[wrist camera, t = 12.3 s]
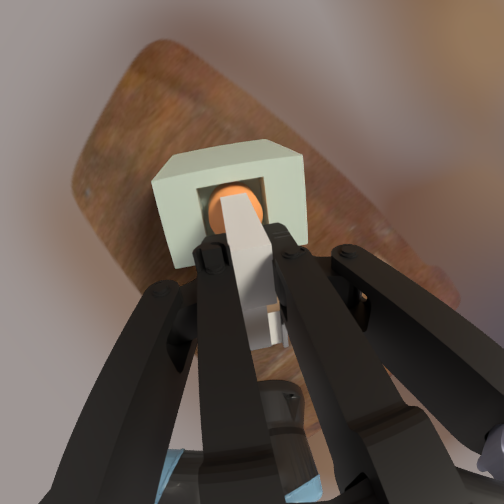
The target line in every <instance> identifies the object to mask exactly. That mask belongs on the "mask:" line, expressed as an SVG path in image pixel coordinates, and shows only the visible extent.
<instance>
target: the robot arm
mask: <svg viewBox="0 0 504 504" xmlns="http://www.w3.org/2000/svg"><path fill="white" fill-rule="evenodd" d="M220 200H221V206H222V212H223V218H224V224H225V230H226V233H221V234H216V235H211V236H206V237H205V238H204V239H203V241H202V242H201V244H200V245H198V246H197V247H196V248H195V249H194V250H193V252H192V254H193V258H194V262H195V265H196V269H197V278H196V279H195V280H193V281H192V282H190V283H188V284H185V285H183V286H180V287H179V285H178V283H177V282H175V281H173V280H161V281H158V282H156V283H154V284H152V285H151V286H149V287H148V288H147V290H146V291H145V292H144V294H143V296H142V297H141V299H140V301H139V302H138V304H137V306H136V308H135V310H134V311H133V313H132V315H131V316H130V318H129V320H128V322H127V323H126V325H125V327H124V329H123V331H122V332H121V335H120V336H119V338H118V340H117V341H116V343H115V345H114V347H113V349H112V351H111V353H110V355H109V357H108V359H107V360H106V362H105V364H104V366H103V368H102V370H101V372H100V374H99V376H98V378H97V380H96V382H95V384H94V386H93V388H92V390H91V392H90V394H89V397H88V399H87V401H86V403H85V405H84V407H83V409H82V412H81V414H80V416H79V418H78V421H77V423H76V425H75V428H74V430H73V432H72V434H71V437H70V439H69V442H68V444H67V447H66V449H65V451H64V454H63V457H62V459H61V462H60V464H59V467H58V470H57V472H56V475H55V478H54V481H53V484H52V487H51V489H50V490H49V492H48V493H47V494H46V495H45V496H44V498H43V499H42V500H41V501H40V502H39V504H504V349H503V348H502V347H501V346H499V345H498V344H497V343H496V342H495V341H493V340H492V339H491V338H490V337H488V336H487V335H486V334H484V333H483V332H482V331H481V330H479V329H478V328H477V327H476V326H474V325H473V324H472V323H470V322H469V321H468V320H467V319H465V318H464V317H463V316H461V315H460V314H459V313H457V312H456V311H454V310H453V309H452V308H450V307H449V306H448V305H446V304H445V303H444V302H442V301H441V300H439V299H438V298H437V297H435V296H434V295H432V294H431V293H429V292H428V291H427V290H425V289H424V288H422V287H421V286H419V285H418V284H416V283H415V282H414V281H412V280H411V279H409V278H408V277H406V276H405V275H403V274H402V273H400V272H399V271H397V270H396V269H394V268H393V267H391V266H390V265H388V264H387V263H385V262H383V261H382V260H380V259H379V258H377V257H376V256H374V255H373V254H371V253H369V252H368V251H366V250H365V249H363V248H361V247H359V246H357V245H352V244H343V245H339V246H337V247H335V248H333V250H332V251H331V257H316V256H312V254H311V253H310V251H309V250H308V249H306V248H305V247H302V246H298V244H297V243H296V241H295V240H294V238H293V237H292V235H291V234H290V232H289V231H288V229H287V228H286V226H285V225H283V224H281V223H279V222H277V223H271V224H266V225H262V224H261V222H260V220H259V218H258V216H257V214H256V212H255V210H254V208H253V206H252V203H251V201H250V199H249V197H248V195H247V193H241V194H235V195H230V196H224V197H220ZM362 292H363V293H364V294H365V295H366V296H367V300H366V299H365V298H363V297H362ZM277 297H278V300H279V306H280V317H281V325H284V324H285V327H286V330H287V332H288V335H289V338H290V341H291V343H292V346H293V349H294V352H295V355H296V357H297V360H298V363H299V366H300V369H301V371H302V374H303V377H304V380H305V383H306V386H307V388H308V391H309V394H310V397H311V400H312V402H313V405H314V408H315V411H316V414H317V417H318V419H319V422H320V425H321V428H322V431H323V434H324V436H325V439H326V442H327V445H328V448H329V451H330V454H331V457H332V460H333V464H334V473H335V478H336V482H337V485H338V488H339V491H340V494H341V495H339V496H337V497H335V498H334V499H331V500H329V501H321V502H316V501H318V500H319V499H320V498H321V496H322V492H323V491H322V486H321V482H320V475H319V474H318V471H317V468H316V465H315V462H314V459H313V456H312V453H311V450H310V447H309V444H308V441H307V438H306V435H305V431H304V427H303V425H304V407H305V400H304V396H303V393H302V390H301V388H300V387H299V386H298V385H296V384H294V383H292V382H288V381H282V380H269V381H261V382H257V378H256V373H255V369H254V364H253V360H252V355H251V350H250V346H249V341H248V336H247V331H246V327H245V322H244V317H243V312H242V310H247V309H252V308H257V307H262V306H267V305H272V304H277ZM197 343H198V374H199V397H200V415H201V430H202V442H203V451H194V450H185V449H180V450H177V449H168V447H169V443H170V439H171V435H172V432H173V428H174V424H175V420H176V417H177V413H178V409H179V406H180V402H181V398H182V395H183V391H184V388H185V384H186V381H187V377H188V374H189V370H190V367H191V363H192V360H193V356H194V353H195V350H196V346H197ZM382 364H383V365H384V366H385V367H386V368H387V369H388V370H389V371H390V372H391V373H392V374H393V375H394V376H395V377H396V378H397V379H398V380H399V381H400V382H401V383H402V384H403V385H404V386H405V387H406V388H407V389H408V390H409V391H410V392H411V393H412V394H413V395H414V396H415V397H416V398H417V399H418V400H419V401H420V402H421V403H422V404H423V405H424V406H425V407H426V408H427V410H428V411H429V412H430V413H431V414H432V415H434V417H435V418H436V419H437V420H438V421H439V422H440V423H441V424H442V425H443V426H444V427H445V428H446V429H447V430H448V431H449V432H450V433H451V434H452V435H453V436H454V437H455V438H456V439H457V440H458V441H459V442H460V443H462V444H463V445H465V446H466V447H467V448H469V449H470V450H472V451H474V452H476V453H478V454H480V455H481V456H480V457H479V459H478V462H477V468H478V469H479V471H481V472H485V471H488V472H489V473H490V474H491V475H492V476H493V477H494V479H493V478H489V477H486V476H483V475H479V474H476V473H473V472H470V471H467V470H464V469H461V468H458V467H456V466H454V464H453V461H452V460H451V458H450V456H449V454H448V452H447V450H446V448H445V446H444V444H443V442H442V440H441V439H440V437H439V435H438V433H437V431H436V430H435V428H434V426H433V424H432V422H431V421H430V419H429V417H428V416H427V414H426V413H425V412H424V411H423V410H422V409H421V408H419V407H417V406H408V405H407V404H406V403H405V402H404V401H403V399H402V397H401V396H400V394H399V392H398V390H397V389H396V387H395V385H394V383H393V382H392V380H391V378H390V376H389V375H388V373H387V371H386V370H385V368H384V366H383V365H382Z"/></svg>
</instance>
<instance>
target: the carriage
mask: <svg viewBox="0 0 504 504" xmlns="http://www.w3.org/2000/svg"><path fill="white" fill-rule="evenodd" d="M276 311H280V306H279V300H278V297H277V304H272V305H267V306H262V307H257V308H252V309H247V310H242V312H243V317H244V322H245V327H246V331H247V336H248V341H249V346H250V350H256V349H261V348H266V347H271V346H272V344H271V336H270V328H269V320H268V313H271V312H276Z"/></svg>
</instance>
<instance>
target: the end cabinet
mask: <svg viewBox="0 0 504 504" xmlns="http://www.w3.org/2000/svg"><path fill="white" fill-rule="evenodd" d="M234 181H237V182H241V183H244V184H245V185H247V186H248V187H249V188H250V189H251V190H252V191H253V193H254V195H255V196H256V198H257V200H258V201H259V203H260V205H261V207H262V211H263V219H262V223H261V224H262V225H266V224H271V223H277V222H279V223H281V224H283V225H285V226H286V228H287V229H288V231H289V232H290V234H291V235H292V237H293V238H294V240H295V241H296V243H297V244H298V246H299V245H304V244H308V232H307V211H306V194H305V179H304V165H303V155H301V154H299V153H297V152H295V151H292V150H290V149H288V148H286V147H283V146H281V145H279V144H276V143H274V142H272V141H269V140H267V139H261V140H254V141H247V142H240V143H234V144H227V145H221V146H216V147H210V148H205V149H200V150H195V151H190V152H185V153H181V154H176V155H173V156H172V157H171V158H170V159H169V160H168V162H167V163H166V164H165V165H164V166H163V168H162V169H161V170H160V171H159V172H158V174H157V175H156V176H155V177H154V179H153V180H152V181H151V183H152V187H153V191H154V195H155V199H156V203H157V207H158V211H159V215H160V218H161V222H162V226H163V229H164V233H165V236H166V240H167V243H168V247H169V250H170V253H171V257H172V260H173V263H174V266H175V269H178V268H183V267H189V266H194V265H195V262H194V258H193V254H192V252H193V250H194V249H195V248H196V247H197V246H198V245H200V244H201V242H202V241H203V239H204V238H205V237H206V236H211V235H216V234H215V233H214V232H213V230H212V229H211V226H210V223H209V213H208V202H209V197H210V195H211V193H212V191H213V190H214V189H215V188H216V187H217V186H219V185H220V184H223V183H228V182H234Z"/></svg>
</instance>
